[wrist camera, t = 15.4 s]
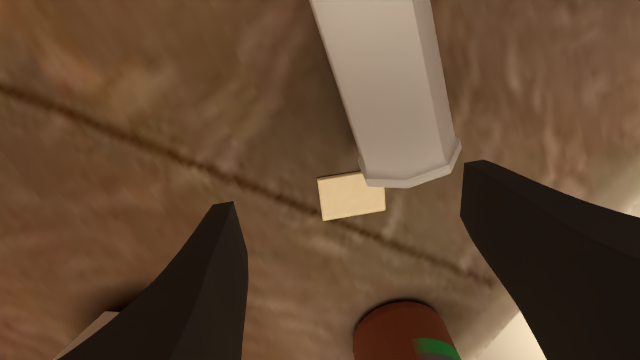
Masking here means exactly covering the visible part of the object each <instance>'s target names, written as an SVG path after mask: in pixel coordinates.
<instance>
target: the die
mask: <svg viewBox="0 0 640 360" xmlns="http://www.w3.org/2000/svg"><path fill="white" fill-rule="evenodd" d="M119 313H120V312H109V311H105V312H104V313H103V314H102V315H100V316H99V317H98V318H97V319H96V320H95V321H94V322H93V323H92V324H91V325H90V326H88V327H87V328H86V329H85V330H84V331H83V332H82V333H81V334H80V335H79V336H78V337H76V338H75V339H74V340H73V341H72V342H71V343H70V344H69V345H68V346H67V347H66V348H64V349H63V350H62V351H61V352H60V353H59V354H58V355H57V356H56V357H55V358H54V359H52V360H57V359H59V358H60V357H62V356H63V355H65V354H66V353H68V352H69V351H71V350H72V349H74V348H75V347H76V346H78V345H79V344H80V343H82V342H83V341H85V340H86V339H87V338H89V337H90V336H91V335H93V334H94V333H95V332H97V331H98V330H99V329H100V328H102V327H103V326H104V325H106V324H107V323H108V322H109V321H110V320H112V319H113V318H114V317H115V316H116V315H117V314H119Z"/></svg>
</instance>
